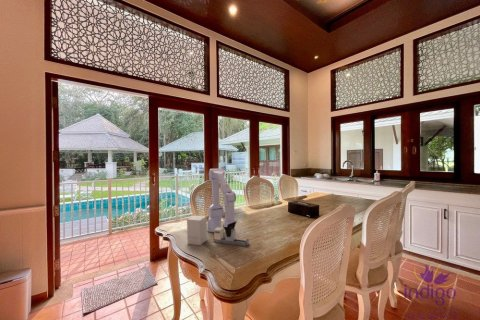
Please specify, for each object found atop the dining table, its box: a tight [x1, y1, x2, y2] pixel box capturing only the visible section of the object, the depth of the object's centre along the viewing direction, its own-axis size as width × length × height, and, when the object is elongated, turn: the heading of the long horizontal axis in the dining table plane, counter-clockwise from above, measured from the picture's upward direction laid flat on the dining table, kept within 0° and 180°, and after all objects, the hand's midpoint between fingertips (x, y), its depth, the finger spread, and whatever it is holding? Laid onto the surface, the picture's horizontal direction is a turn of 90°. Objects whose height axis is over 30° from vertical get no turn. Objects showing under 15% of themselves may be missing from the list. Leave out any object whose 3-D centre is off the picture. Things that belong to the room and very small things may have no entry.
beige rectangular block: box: [213, 227, 224, 240], centre depth 127 cm, size 4×4×6 cm
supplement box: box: [186, 215, 208, 246], centre depth 128 cm, size 9×9×15 cm
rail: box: [213, 237, 250, 248], centre depth 125 cm, size 21×4×3 cm, turn 71°
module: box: [224, 228, 237, 241], centre depth 125 cm, size 5×4×6 cm
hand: (230, 235), depth 125 cm, fingers closed on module, 4 cm apart
